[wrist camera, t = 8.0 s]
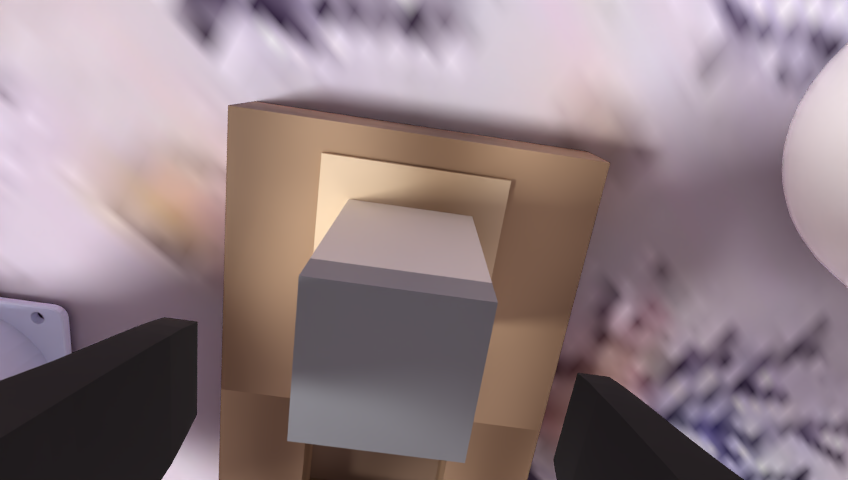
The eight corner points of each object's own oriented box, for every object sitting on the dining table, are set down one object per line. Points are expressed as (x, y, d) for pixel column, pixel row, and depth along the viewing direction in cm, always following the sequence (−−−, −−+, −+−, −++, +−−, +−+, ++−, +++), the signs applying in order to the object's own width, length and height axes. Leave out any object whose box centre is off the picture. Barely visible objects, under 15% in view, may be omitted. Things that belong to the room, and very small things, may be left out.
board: (238, 499, 23) (215, 551, 21) (255, 101, 18) (225, 105, 15) (493, 530, 24) (501, 585, 21) (586, 151, 18) (612, 163, 16)
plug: (337, 311, 17) (286, 441, 11) (349, 199, 16) (299, 275, 10) (452, 326, 18) (464, 463, 11) (472, 216, 16) (497, 302, 10)
